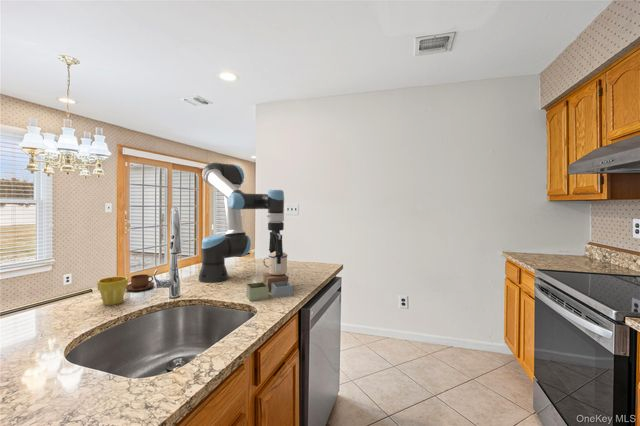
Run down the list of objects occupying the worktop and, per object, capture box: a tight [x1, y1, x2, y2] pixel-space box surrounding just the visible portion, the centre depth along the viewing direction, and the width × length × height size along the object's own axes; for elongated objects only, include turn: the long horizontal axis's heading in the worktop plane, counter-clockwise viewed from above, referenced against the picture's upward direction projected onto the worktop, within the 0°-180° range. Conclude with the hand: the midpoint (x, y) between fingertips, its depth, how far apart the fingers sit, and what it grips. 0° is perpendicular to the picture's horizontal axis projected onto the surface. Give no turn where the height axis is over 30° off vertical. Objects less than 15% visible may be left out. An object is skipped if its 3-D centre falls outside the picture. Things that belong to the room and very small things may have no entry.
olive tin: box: [246, 281, 269, 303], centre depth 131 cm, size 8×8×6 cm
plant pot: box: [96, 275, 129, 306], centre depth 124 cm, size 10×10×10 cm
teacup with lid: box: [262, 251, 288, 275], centre depth 145 cm, size 12×9×12 cm
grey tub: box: [270, 281, 294, 298], centre depth 136 cm, size 8×8×5 cm
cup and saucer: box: [125, 273, 155, 292], centre depth 143 cm, size 12×12×6 cm
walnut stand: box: [262, 272, 290, 293], centre depth 145 cm, size 10×10×7 cm
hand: (275, 268), depth 145 cm, fingers closed on teacup with lid, 9 cm apart
